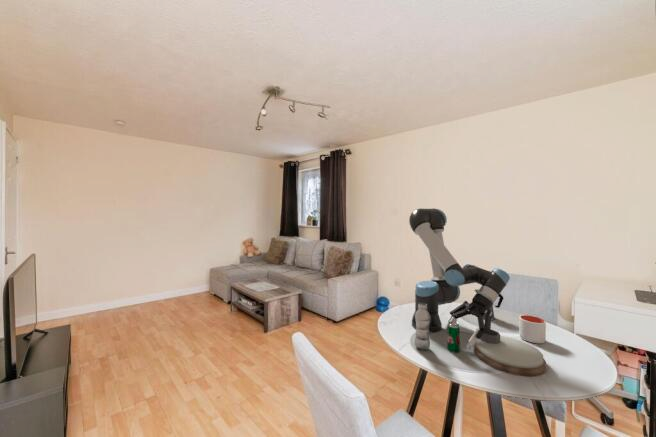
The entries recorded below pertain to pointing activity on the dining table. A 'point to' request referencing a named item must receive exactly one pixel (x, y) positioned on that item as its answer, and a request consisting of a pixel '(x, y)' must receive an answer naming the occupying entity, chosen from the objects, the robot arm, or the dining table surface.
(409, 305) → the dining table surface
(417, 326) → the plastic bottle
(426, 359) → the dining table surface
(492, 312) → the coffeepot
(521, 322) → the cup
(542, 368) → the base
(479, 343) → the dial
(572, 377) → the dining table surface
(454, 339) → the soda can
